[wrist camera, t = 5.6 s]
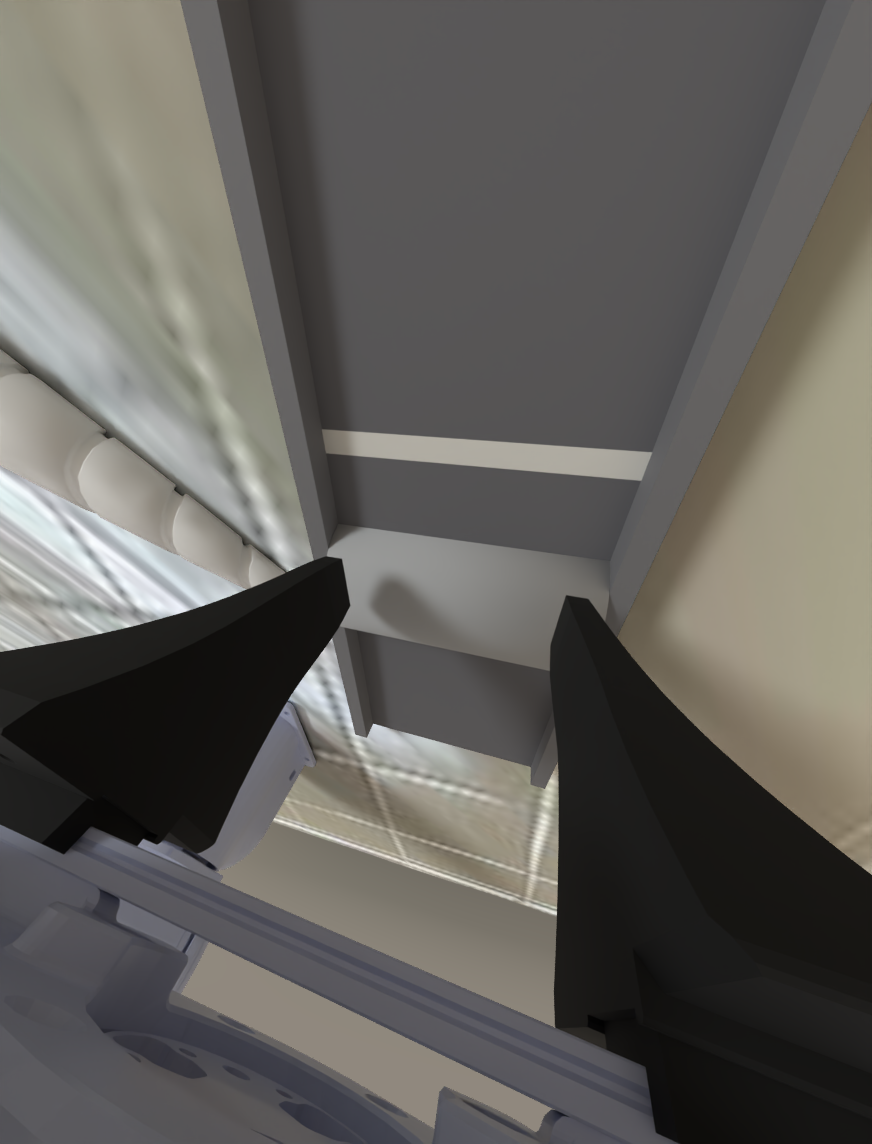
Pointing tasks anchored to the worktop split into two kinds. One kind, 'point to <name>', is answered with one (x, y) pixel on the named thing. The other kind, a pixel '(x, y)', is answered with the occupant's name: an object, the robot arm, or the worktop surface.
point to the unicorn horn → (112, 479)
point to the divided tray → (511, 298)
